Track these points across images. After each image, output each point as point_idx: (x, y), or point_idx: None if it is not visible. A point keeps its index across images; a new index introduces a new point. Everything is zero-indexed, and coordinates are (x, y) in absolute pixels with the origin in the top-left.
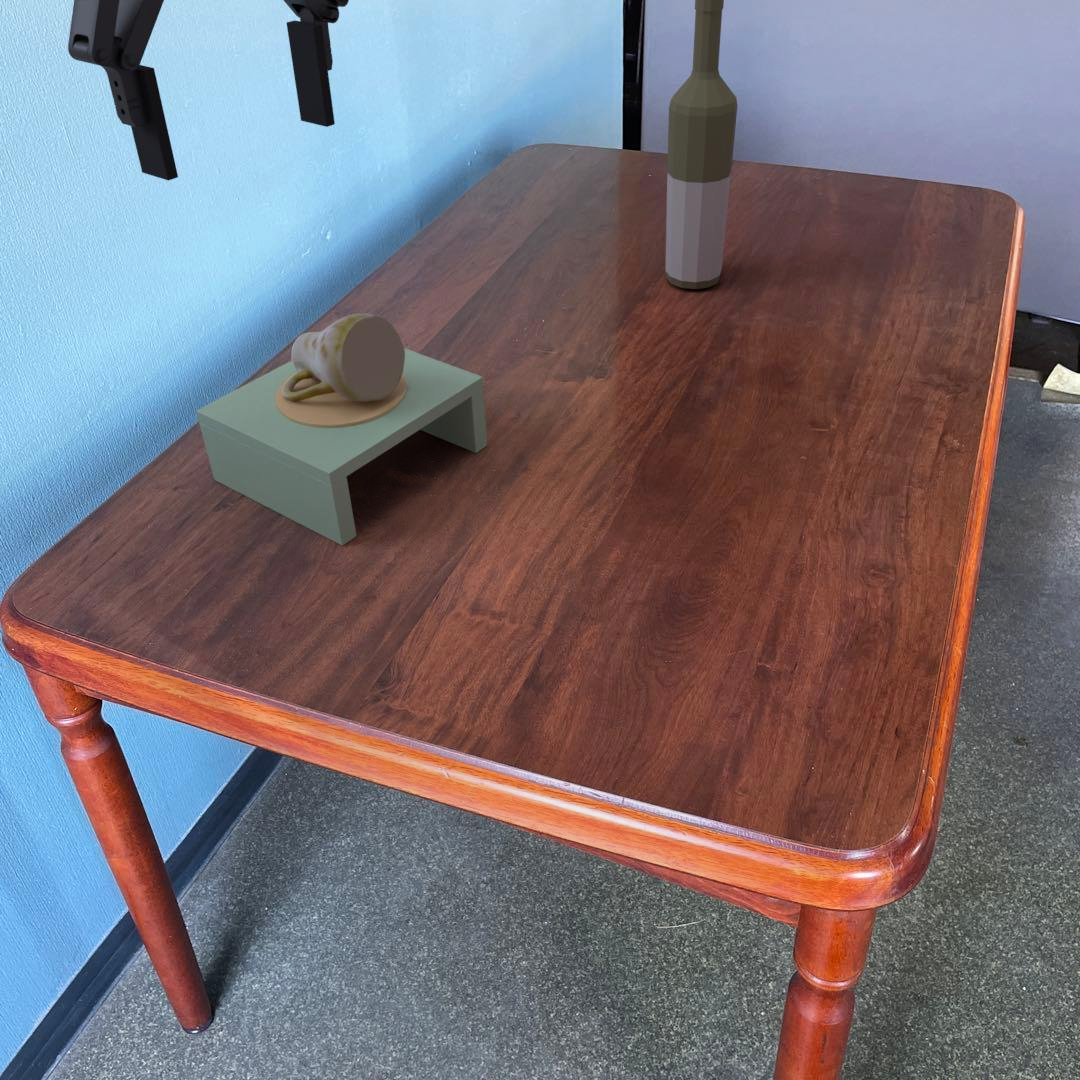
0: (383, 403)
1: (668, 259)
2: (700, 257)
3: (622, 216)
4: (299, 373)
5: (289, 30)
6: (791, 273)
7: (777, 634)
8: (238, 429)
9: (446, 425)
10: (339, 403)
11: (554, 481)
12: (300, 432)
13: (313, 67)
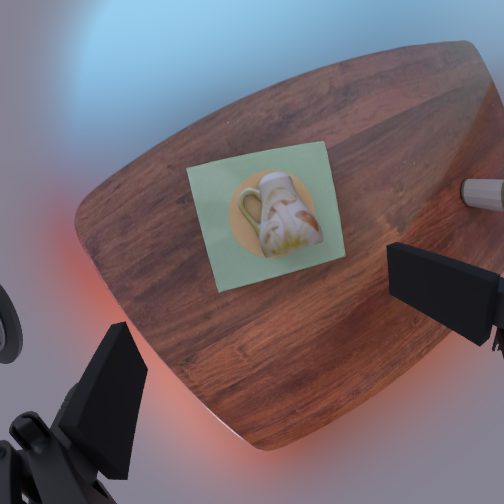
0: None
1: (469, 186)
2: (475, 204)
3: (476, 119)
4: (256, 194)
5: (480, 281)
6: (483, 219)
7: (310, 402)
8: (197, 210)
9: None
10: None
11: (326, 294)
12: (227, 240)
13: (439, 310)
